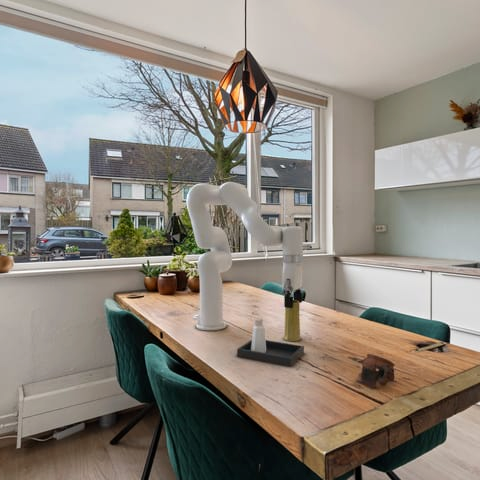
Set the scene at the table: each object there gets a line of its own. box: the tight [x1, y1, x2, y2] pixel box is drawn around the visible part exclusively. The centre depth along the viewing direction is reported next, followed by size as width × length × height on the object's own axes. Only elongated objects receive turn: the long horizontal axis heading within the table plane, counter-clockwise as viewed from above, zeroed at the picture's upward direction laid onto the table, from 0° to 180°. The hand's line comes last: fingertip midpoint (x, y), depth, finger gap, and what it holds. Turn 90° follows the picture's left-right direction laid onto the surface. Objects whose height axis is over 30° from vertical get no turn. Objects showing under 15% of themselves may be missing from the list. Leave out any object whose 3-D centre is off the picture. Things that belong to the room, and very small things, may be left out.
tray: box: [236, 339, 305, 367], centre depth 119 cm, size 19×13×2 cm
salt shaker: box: [251, 317, 266, 353], centre depth 121 cm, size 5×5×11 cm
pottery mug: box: [357, 353, 395, 389], centre depth 98 cm, size 12×10×8 cm
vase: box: [283, 299, 301, 342], centre depth 135 cm, size 6×6×14 cm
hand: (293, 304), depth 135 cm, fingers open, 9 cm apart
